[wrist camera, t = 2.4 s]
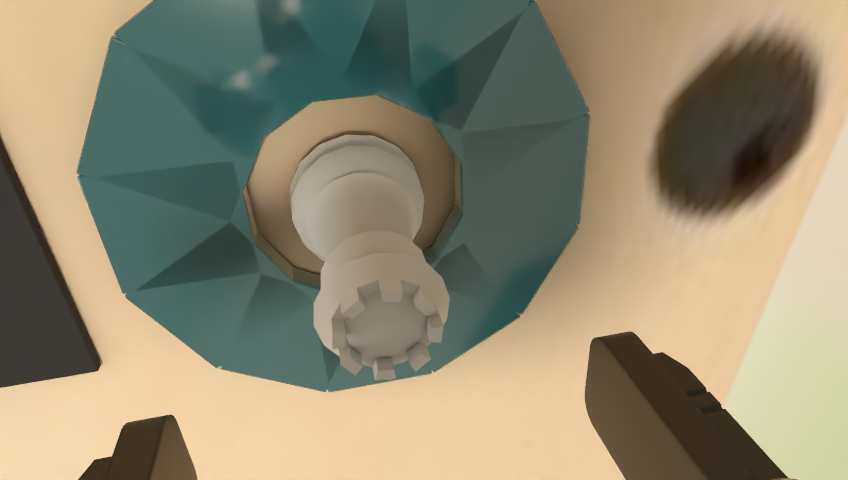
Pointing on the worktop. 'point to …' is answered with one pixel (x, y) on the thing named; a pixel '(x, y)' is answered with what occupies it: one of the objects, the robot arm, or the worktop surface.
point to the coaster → (34, 299)
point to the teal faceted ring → (281, 100)
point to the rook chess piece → (368, 254)
